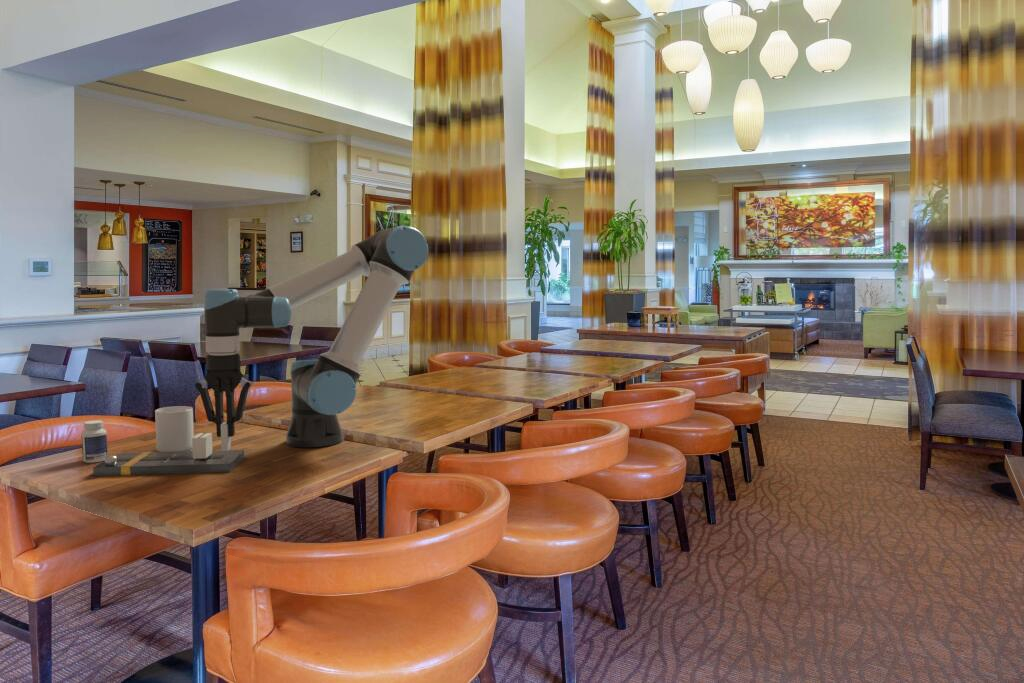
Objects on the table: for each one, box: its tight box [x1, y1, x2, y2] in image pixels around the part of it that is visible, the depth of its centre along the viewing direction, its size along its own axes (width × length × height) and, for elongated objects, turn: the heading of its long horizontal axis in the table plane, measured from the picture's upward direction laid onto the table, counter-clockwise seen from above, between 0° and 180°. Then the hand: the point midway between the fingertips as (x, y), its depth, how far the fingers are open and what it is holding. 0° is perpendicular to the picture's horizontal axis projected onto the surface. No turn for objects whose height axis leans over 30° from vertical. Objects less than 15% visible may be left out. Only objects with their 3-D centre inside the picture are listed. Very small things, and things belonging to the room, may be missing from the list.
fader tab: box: [192, 432, 213, 459], centre depth 166 cm, size 3×5×5 cm, turn 7°
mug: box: [154, 405, 195, 452], centre depth 181 cm, size 12×9×11 cm
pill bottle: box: [80, 420, 109, 464], centre depth 170 cm, size 5×5×10 cm
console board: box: [92, 449, 245, 477], centre depth 165 cm, size 30×13×4 cm, turn 97°
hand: (226, 449), depth 167 cm, fingers closed
